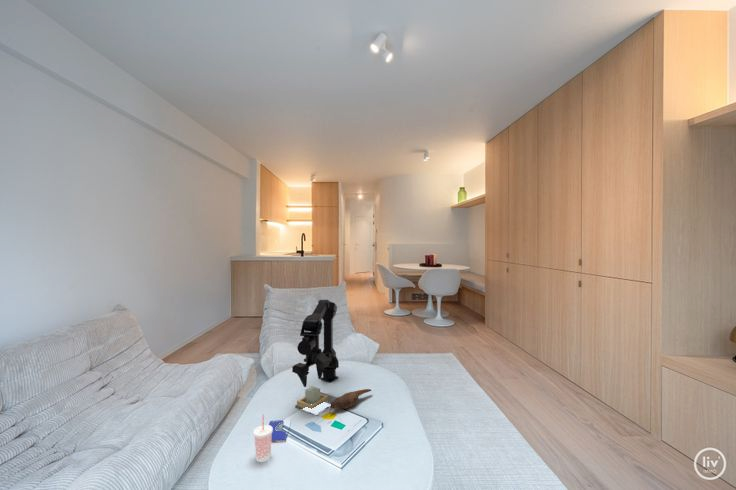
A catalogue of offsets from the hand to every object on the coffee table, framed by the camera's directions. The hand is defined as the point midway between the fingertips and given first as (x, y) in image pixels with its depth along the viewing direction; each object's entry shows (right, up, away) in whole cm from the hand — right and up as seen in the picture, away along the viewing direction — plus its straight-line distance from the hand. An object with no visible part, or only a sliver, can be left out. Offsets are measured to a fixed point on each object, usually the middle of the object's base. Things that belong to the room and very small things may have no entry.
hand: (312, 382), depth 138 cm
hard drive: (-10, -11, -19) cm, 24 cm away
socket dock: (+2, -10, +1) cm, 10 cm away
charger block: (0, -9, 0) cm, 9 cm away
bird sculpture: (+16, -10, 0) cm, 19 cm away
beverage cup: (-11, -11, -33) cm, 36 cm away
